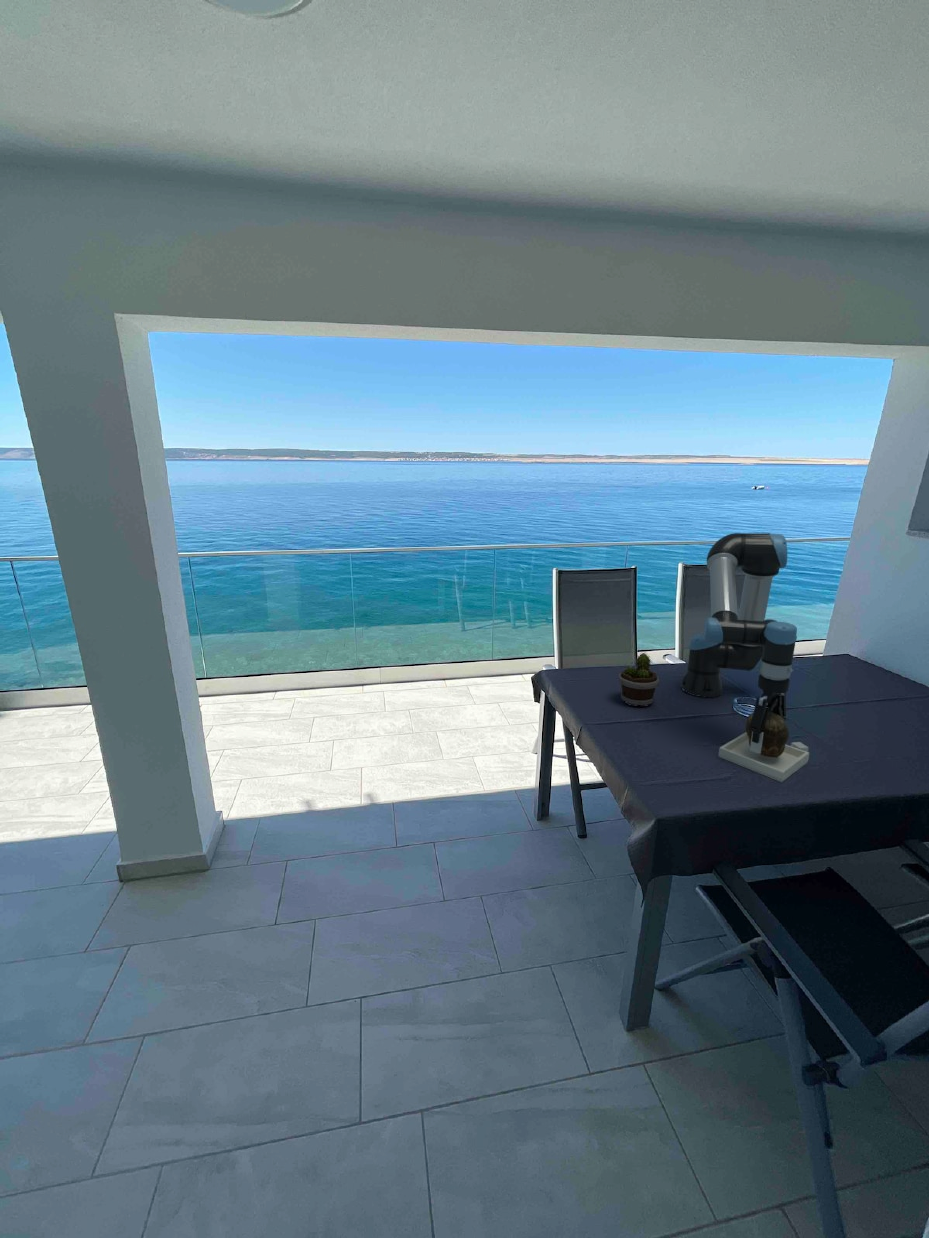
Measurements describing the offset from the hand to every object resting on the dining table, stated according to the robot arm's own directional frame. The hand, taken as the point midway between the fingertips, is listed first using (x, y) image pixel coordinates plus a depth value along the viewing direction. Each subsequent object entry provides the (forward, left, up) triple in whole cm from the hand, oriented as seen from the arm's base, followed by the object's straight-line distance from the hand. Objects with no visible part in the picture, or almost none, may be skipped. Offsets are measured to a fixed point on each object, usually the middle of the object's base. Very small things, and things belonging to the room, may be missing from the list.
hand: (764, 745), depth 149 cm
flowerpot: (-48, +7, -5) cm, 49 cm away
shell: (0, 0, -2) cm, 2 cm away
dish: (0, 0, -4) cm, 4 cm away
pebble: (+5, +14, -5) cm, 15 cm away
